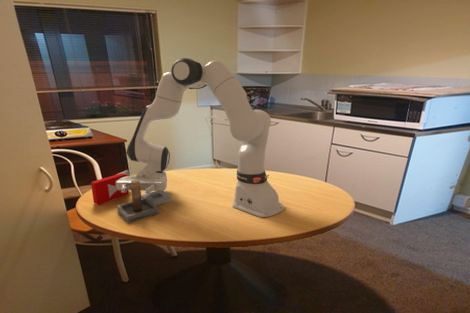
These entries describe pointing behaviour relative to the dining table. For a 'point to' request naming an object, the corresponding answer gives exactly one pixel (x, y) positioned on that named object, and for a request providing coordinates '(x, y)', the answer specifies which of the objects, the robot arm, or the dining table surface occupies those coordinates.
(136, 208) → the dowel
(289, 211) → the dining table surface
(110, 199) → the play button
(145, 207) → the tray
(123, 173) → the wall hook
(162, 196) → the socket block
